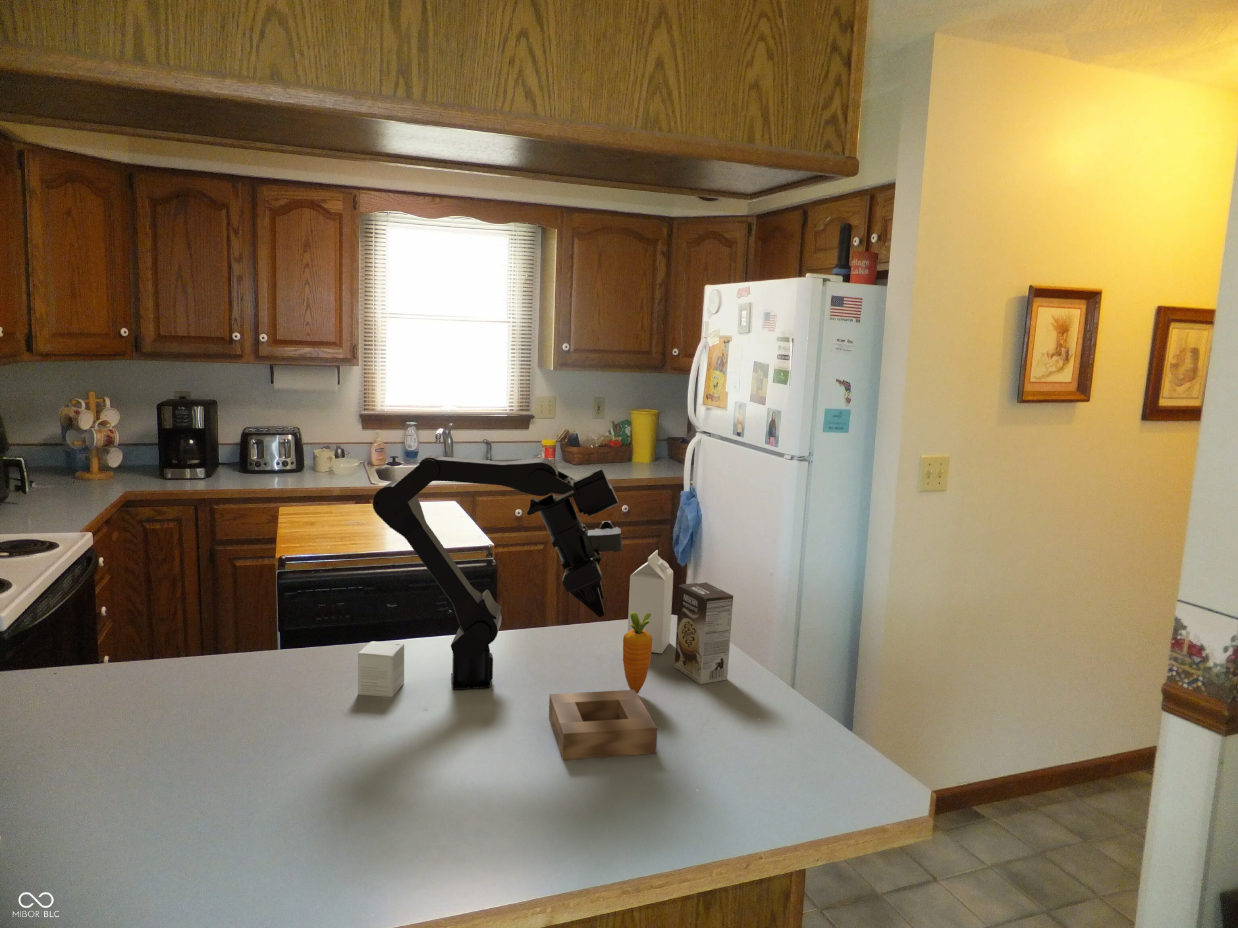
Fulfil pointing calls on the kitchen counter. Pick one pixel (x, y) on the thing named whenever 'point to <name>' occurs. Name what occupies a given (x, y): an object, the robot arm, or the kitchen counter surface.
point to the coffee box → (703, 632)
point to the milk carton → (653, 599)
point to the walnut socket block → (601, 724)
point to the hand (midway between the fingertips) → (601, 607)
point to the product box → (380, 669)
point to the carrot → (637, 652)
